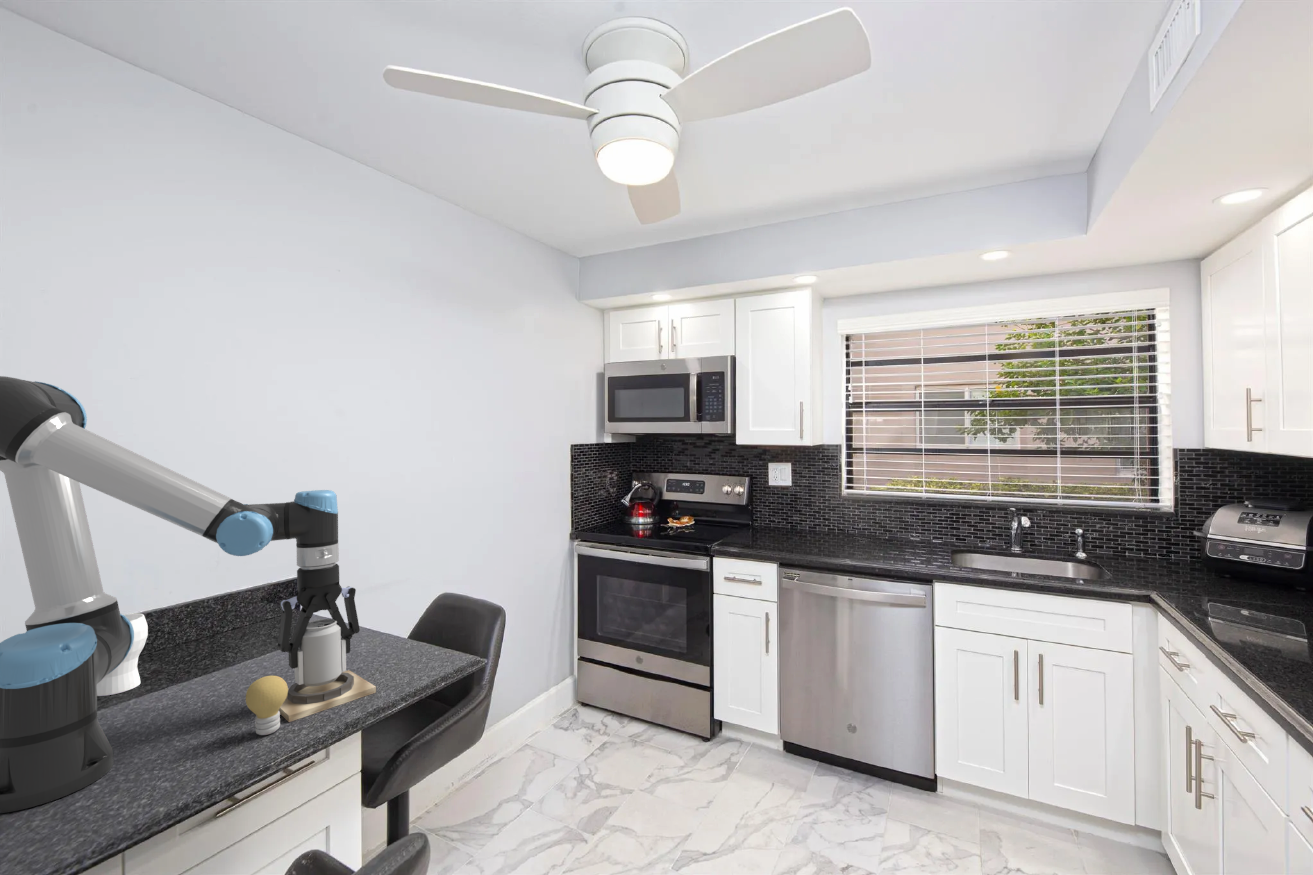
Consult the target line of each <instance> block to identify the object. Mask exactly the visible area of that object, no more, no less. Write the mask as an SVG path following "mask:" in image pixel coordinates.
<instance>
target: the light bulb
mask: <svg viewBox="0 0 1313 875" xmlns="http://www.w3.org/2000/svg"><path fill="white" fill-rule="evenodd" d="M288 689H289V687H288V683H287V682H286V680H284V678H282V677H280V676H278V675H265V676H262V677H260V678H258V679H256V680H254V681H253V682H252V683H251V684H250V685H249V687H248V688H247V690H246V693H245V703H246V706H247V708H248V709H249V710H250V711H251V712H252V713H253V714H255V715H256V716H255V718H254V720H255V721H254V722H255V726H254V727H255V733H256V734H257V735H259V736H267V735H271V734H273V733H275V732H277V730H278V729H280V727H281V718H280V717H281V716H280V715H281V714H280V712H279V711H278V710H279V708H280V707H281V706H282V704H283V703H284V701H285V699H286V697H287V694H288Z"/></svg>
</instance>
